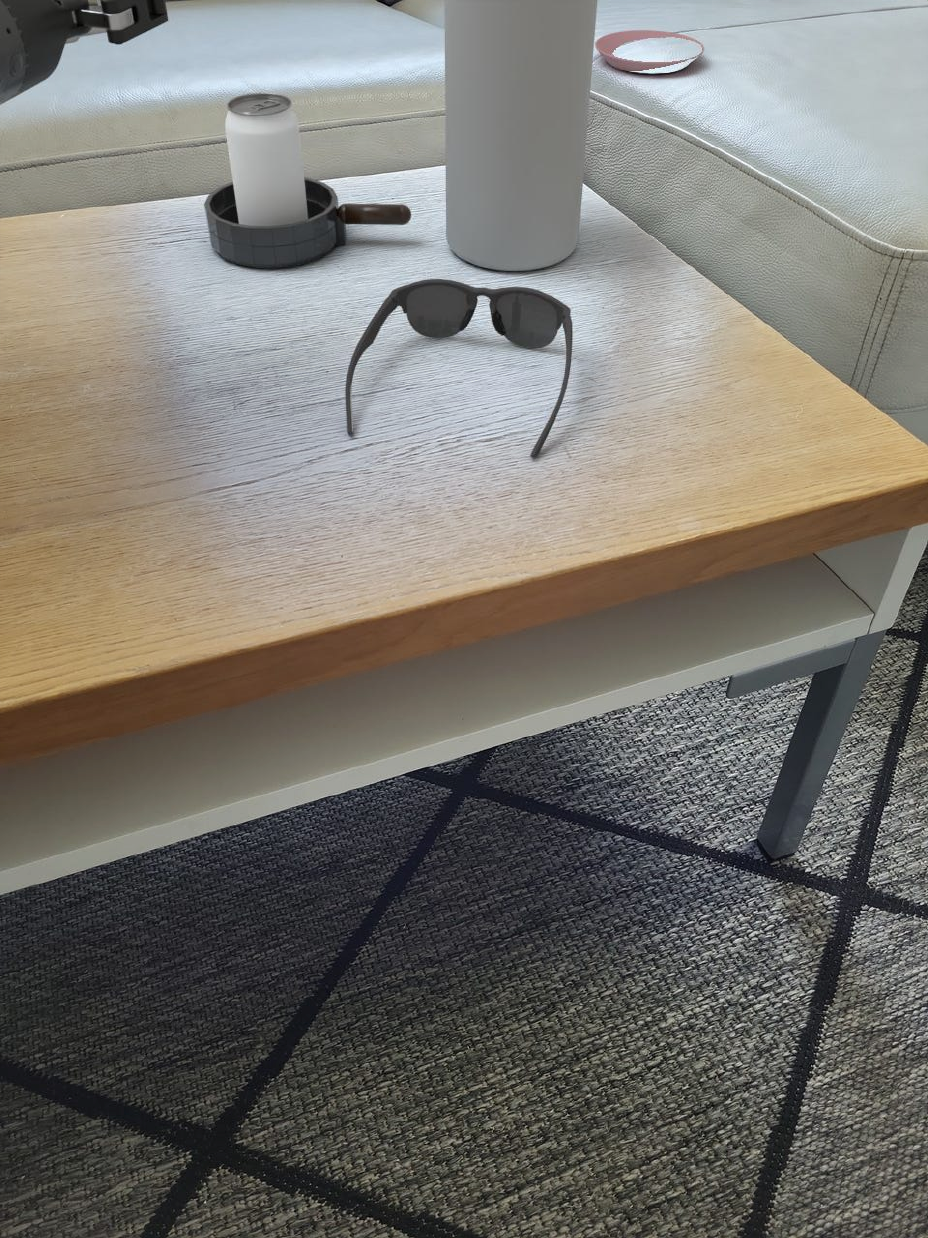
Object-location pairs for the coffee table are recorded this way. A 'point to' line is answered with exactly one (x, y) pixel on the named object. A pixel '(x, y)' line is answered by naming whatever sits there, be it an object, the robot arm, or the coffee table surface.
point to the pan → (273, 230)
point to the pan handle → (370, 216)
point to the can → (266, 160)
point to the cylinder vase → (516, 128)
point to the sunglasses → (449, 311)
